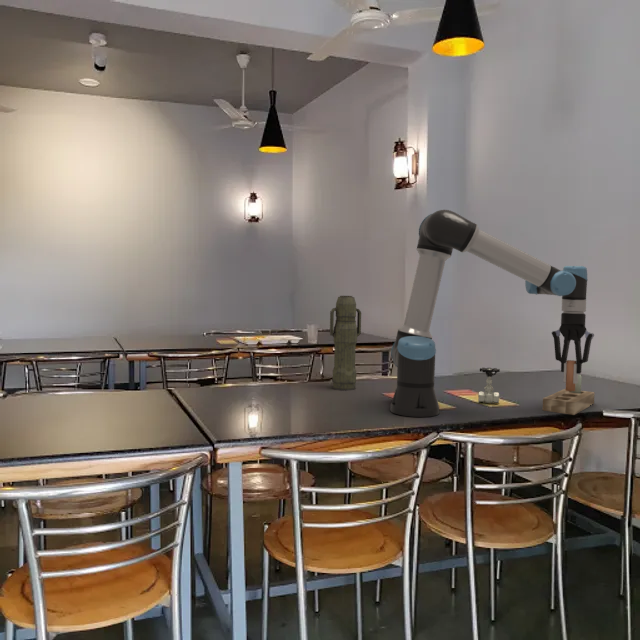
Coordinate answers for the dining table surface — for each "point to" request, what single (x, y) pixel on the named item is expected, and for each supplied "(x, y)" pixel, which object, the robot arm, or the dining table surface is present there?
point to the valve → (489, 387)
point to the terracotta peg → (570, 375)
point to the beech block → (568, 402)
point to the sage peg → (578, 385)
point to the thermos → (345, 342)
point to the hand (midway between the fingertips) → (570, 382)
